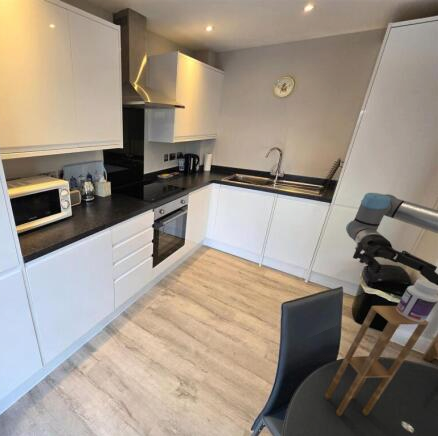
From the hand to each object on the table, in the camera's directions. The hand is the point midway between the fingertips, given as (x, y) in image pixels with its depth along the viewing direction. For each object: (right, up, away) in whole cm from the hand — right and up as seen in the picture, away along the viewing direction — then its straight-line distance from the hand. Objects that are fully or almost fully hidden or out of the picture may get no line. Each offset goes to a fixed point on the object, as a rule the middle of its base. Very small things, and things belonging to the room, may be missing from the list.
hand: (407, 275), depth 69 cm
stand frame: (-11, -44, +9) cm, 46 cm away
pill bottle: (-6, -9, -6) cm, 12 cm away
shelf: (-8, -9, -6) cm, 13 cm away
